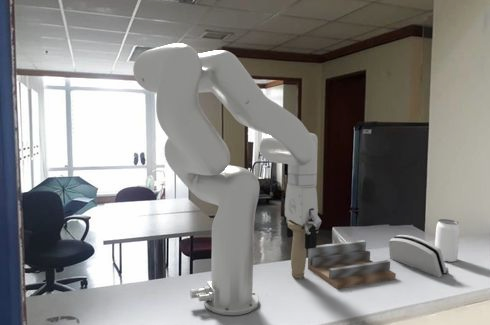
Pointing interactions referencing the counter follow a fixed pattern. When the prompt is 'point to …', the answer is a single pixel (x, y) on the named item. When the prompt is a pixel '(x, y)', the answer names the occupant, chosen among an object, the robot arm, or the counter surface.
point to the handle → (298, 249)
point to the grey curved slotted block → (417, 254)
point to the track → (347, 264)
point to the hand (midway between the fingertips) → (300, 242)
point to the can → (447, 239)
